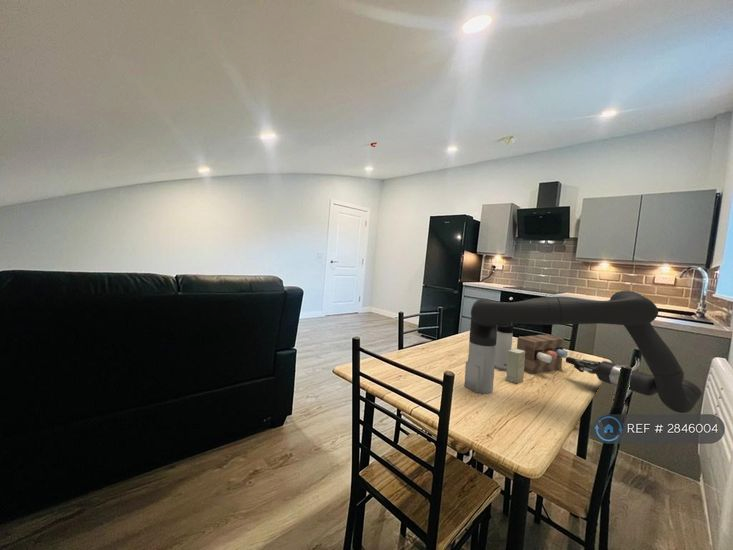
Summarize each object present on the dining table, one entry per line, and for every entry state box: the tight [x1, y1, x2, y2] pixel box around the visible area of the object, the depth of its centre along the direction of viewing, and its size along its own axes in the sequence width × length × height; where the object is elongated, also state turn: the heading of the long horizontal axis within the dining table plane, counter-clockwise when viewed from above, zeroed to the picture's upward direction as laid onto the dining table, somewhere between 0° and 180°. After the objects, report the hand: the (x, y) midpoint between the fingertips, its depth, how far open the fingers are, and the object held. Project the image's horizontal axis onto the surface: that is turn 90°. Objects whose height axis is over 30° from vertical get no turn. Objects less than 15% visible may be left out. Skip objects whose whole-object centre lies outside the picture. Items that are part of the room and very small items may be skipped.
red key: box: [545, 349, 557, 360], centre depth 127 cm, size 3×4×3 cm
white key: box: [537, 352, 552, 363], centre depth 122 cm, size 3×4×3 cm
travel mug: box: [494, 324, 515, 372], centre depth 128 cm, size 6×7×20 cm
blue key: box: [556, 348, 569, 359], centre depth 130 cm, size 3×4×3 cm
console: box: [516, 333, 565, 375], centre depth 131 cm, size 20×8×14 cm, turn 114°
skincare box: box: [505, 347, 525, 384], centre depth 116 cm, size 6×4×12 cm
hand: (567, 359), depth 120 cm, fingers closed
